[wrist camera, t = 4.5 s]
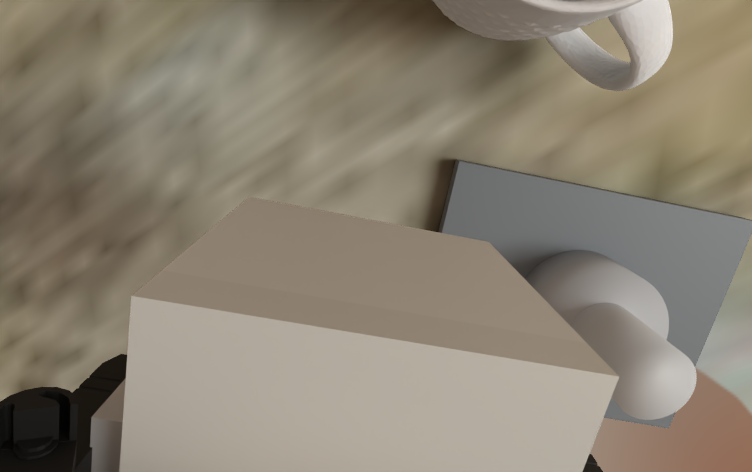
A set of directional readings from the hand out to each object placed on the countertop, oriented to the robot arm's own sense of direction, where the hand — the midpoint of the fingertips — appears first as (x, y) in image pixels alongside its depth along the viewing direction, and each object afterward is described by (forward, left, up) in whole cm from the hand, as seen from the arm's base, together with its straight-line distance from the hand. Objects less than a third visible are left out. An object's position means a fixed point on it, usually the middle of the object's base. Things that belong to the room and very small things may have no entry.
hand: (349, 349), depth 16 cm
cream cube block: (0, 0, -1) cm, 1 cm away
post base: (+15, -2, -16) cm, 22 cm away
